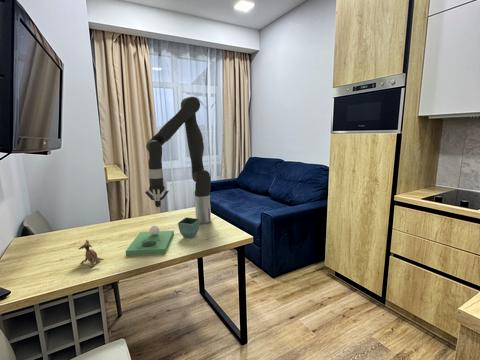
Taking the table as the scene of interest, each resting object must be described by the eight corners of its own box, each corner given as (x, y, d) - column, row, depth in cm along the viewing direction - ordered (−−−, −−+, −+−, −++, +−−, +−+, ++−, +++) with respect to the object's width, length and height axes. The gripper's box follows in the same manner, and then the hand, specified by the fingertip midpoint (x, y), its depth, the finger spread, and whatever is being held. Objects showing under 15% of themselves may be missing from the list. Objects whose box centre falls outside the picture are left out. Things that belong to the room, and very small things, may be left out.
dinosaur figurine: (76, 261, 112) (73, 242, 110) (90, 256, 117) (87, 237, 115) (92, 270, 105) (89, 250, 103) (106, 264, 110) (104, 244, 108)
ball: (160, 232, 136) (159, 224, 135) (158, 236, 131) (157, 227, 130) (151, 233, 136) (150, 224, 135) (148, 237, 131) (147, 228, 130)
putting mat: (174, 234, 140) (173, 230, 139) (165, 253, 118) (165, 248, 118) (140, 236, 138) (140, 231, 138) (126, 255, 117) (125, 250, 116)
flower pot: (193, 240, 132) (192, 224, 130) (178, 238, 135) (177, 222, 133) (200, 234, 140) (200, 218, 138) (186, 232, 143) (186, 217, 141)
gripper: (169, 175, 144) (171, 204, 147) (145, 175, 143) (148, 205, 146) (166, 177, 137) (168, 208, 140) (141, 178, 136) (144, 209, 139)
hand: (158, 206), depth 143 cm, fingers closed
